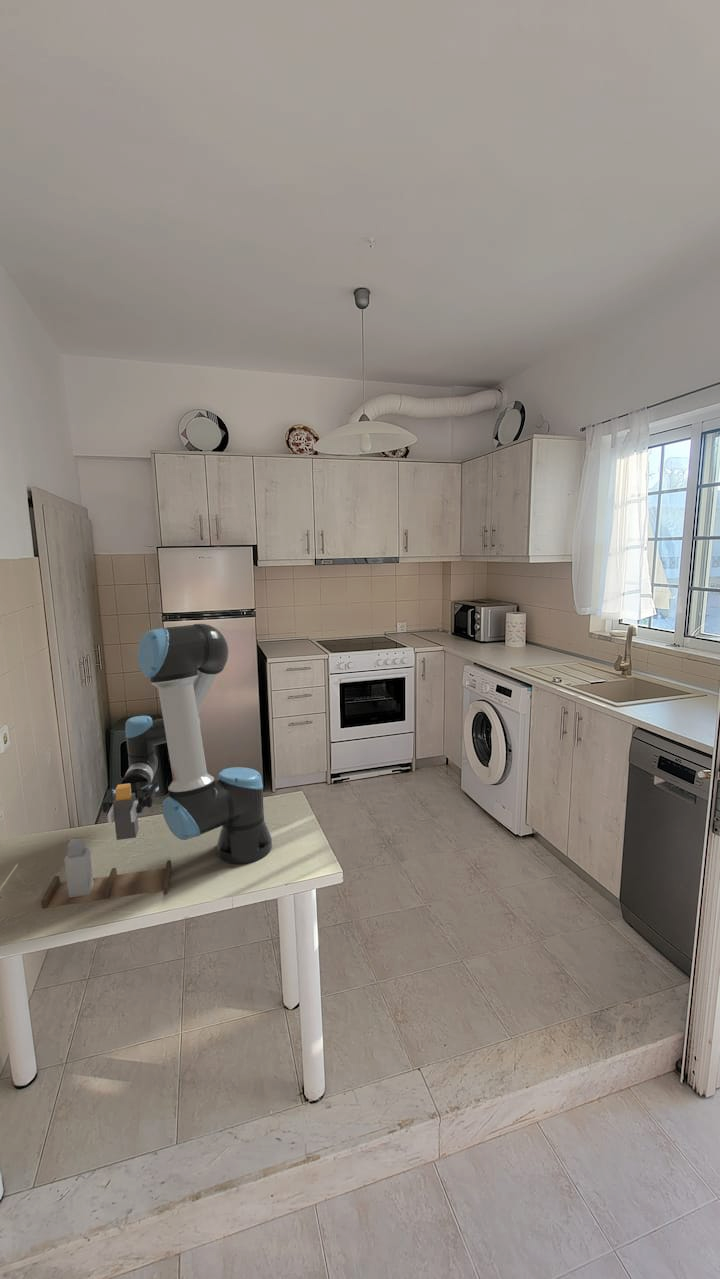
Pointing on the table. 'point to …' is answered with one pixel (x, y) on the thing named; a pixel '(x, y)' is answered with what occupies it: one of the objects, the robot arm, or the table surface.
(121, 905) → the table surface
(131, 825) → the charcoal plug
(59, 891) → the brown wooden tray
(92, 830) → the table surface
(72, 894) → the grey plug
